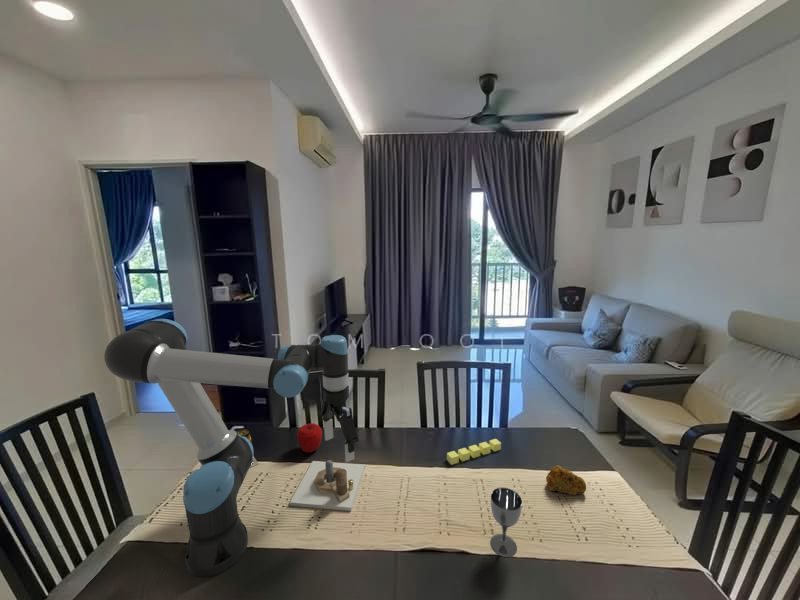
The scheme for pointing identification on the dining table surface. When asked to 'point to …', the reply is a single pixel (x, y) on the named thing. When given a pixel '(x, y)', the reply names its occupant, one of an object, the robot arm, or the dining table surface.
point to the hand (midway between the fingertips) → (339, 449)
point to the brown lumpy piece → (565, 481)
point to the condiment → (246, 434)
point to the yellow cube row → (473, 451)
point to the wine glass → (505, 519)
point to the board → (311, 496)
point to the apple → (309, 437)
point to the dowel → (350, 484)
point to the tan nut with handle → (333, 484)
